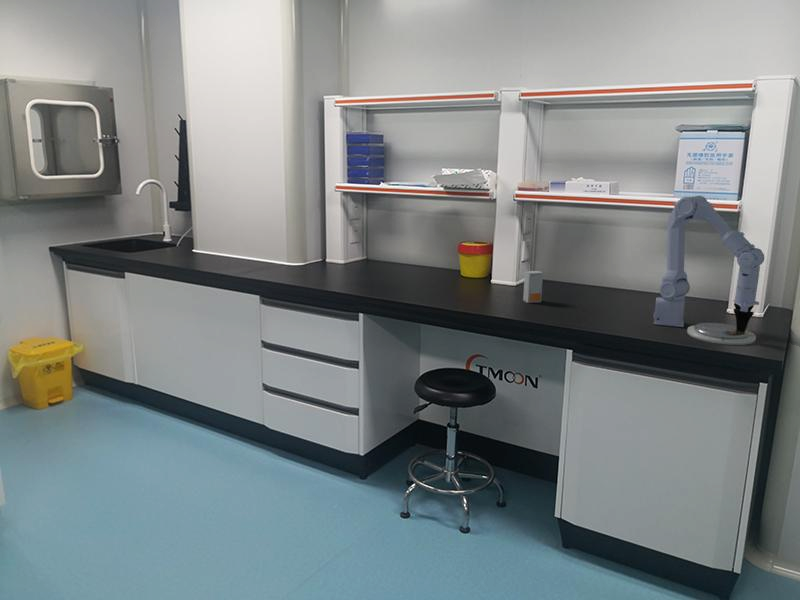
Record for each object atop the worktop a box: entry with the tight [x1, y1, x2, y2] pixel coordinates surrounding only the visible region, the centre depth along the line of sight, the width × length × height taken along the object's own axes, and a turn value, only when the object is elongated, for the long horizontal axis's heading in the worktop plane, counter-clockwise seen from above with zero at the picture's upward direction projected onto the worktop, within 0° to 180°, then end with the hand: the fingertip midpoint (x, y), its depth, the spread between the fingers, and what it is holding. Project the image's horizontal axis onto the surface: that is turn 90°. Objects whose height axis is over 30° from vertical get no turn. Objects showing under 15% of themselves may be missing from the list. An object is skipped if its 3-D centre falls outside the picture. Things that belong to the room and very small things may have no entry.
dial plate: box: [686, 324, 757, 346], centre depth 209 cm, size 20×20×1 cm
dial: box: [694, 322, 749, 339], centre depth 208 cm, size 16×16×6 cm
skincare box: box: [522, 270, 544, 304], centre depth 254 cm, size 6×4×12 cm
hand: (740, 328), depth 206 cm, fingers open, 7 cm apart
